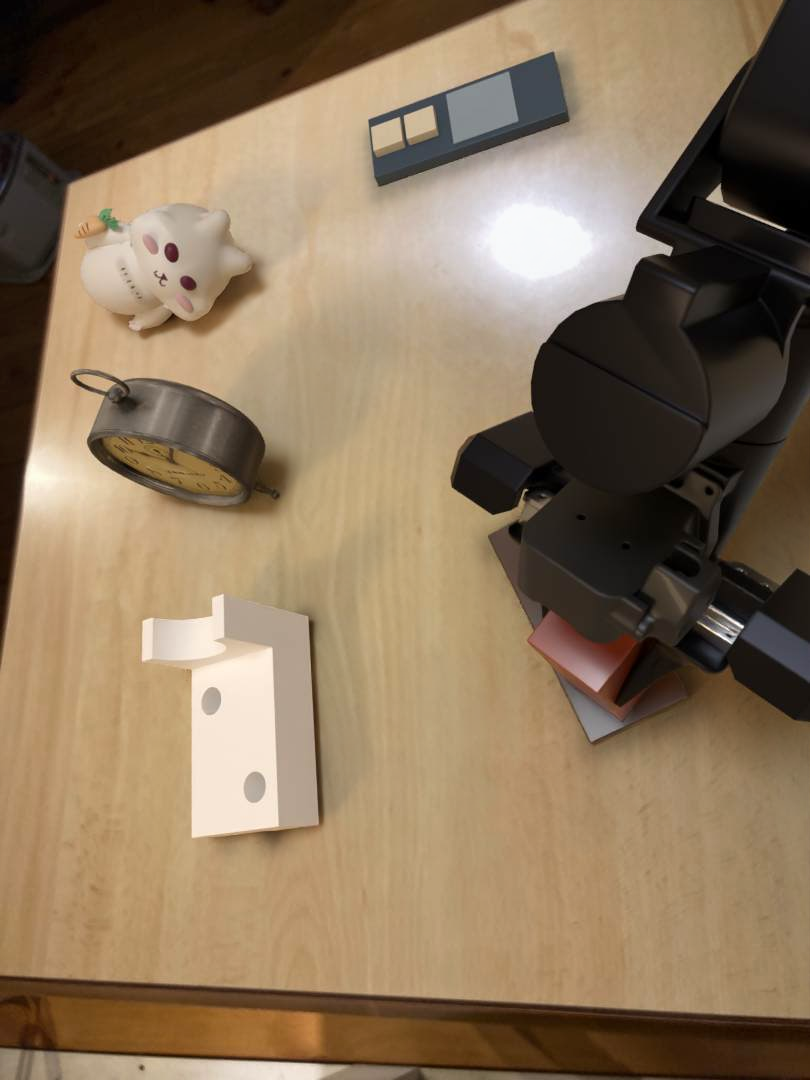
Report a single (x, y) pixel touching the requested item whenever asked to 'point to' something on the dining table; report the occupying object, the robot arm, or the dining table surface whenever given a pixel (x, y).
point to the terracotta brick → (590, 661)
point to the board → (588, 712)
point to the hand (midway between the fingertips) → (585, 675)
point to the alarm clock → (177, 440)
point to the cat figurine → (159, 262)
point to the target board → (467, 119)
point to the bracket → (245, 714)
